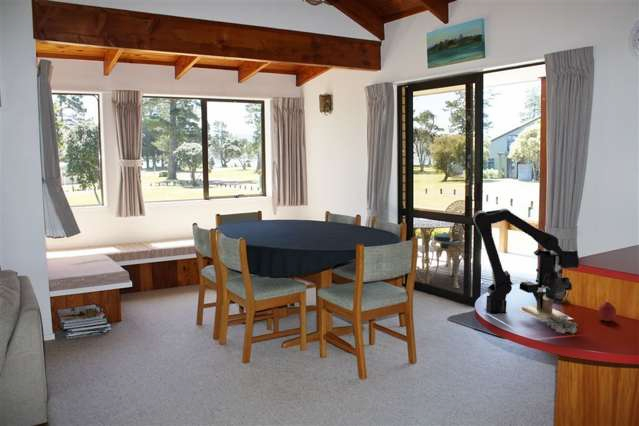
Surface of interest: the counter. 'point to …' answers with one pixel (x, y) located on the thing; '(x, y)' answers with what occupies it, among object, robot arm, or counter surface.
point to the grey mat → (537, 317)
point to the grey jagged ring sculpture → (561, 325)
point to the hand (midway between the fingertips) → (544, 308)
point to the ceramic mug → (560, 295)
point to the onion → (607, 311)
